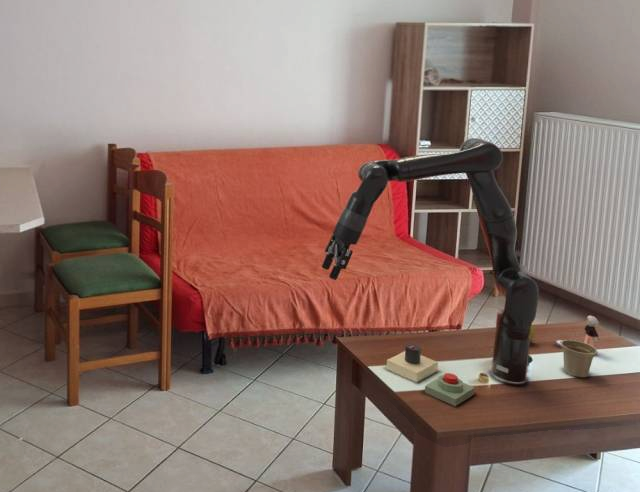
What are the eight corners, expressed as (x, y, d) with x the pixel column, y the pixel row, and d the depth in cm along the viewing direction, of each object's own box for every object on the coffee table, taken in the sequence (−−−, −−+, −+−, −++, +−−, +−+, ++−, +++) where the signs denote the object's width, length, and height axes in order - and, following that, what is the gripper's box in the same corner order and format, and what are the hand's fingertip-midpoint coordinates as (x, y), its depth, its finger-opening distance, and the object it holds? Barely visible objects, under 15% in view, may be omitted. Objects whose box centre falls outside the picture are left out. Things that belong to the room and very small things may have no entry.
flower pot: (596, 373, 213) (599, 346, 212) (591, 384, 206) (594, 356, 205) (561, 362, 219) (564, 337, 218) (555, 372, 212) (558, 346, 211)
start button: (447, 377, 201) (447, 371, 200) (459, 382, 198) (460, 376, 198) (441, 381, 198) (441, 375, 198) (453, 386, 196) (453, 380, 195)
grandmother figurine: (574, 347, 230) (578, 311, 229) (585, 347, 230) (589, 311, 229) (591, 358, 223) (595, 321, 221) (602, 358, 223) (607, 321, 221)
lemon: (535, 347, 230) (537, 324, 229) (517, 345, 231) (519, 322, 230) (529, 340, 235) (531, 317, 234) (512, 338, 236) (514, 316, 235)
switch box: (443, 381, 205) (445, 368, 205) (474, 394, 198) (475, 381, 198) (424, 392, 199) (425, 379, 198) (455, 406, 192) (456, 393, 191)
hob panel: (407, 358, 219) (407, 349, 219) (437, 371, 212) (438, 361, 211) (386, 369, 212) (386, 359, 212) (416, 382, 204) (417, 372, 204)
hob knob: (409, 356, 215) (410, 341, 214) (422, 361, 211) (424, 346, 211) (401, 359, 212) (403, 345, 211) (415, 365, 208) (416, 350, 208)
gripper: (369, 237, 198) (346, 286, 200) (354, 223, 212) (333, 269, 214) (346, 227, 198) (323, 277, 200) (332, 214, 212) (311, 260, 214)
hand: (328, 273), depth 207 cm, fingers open, 8 cm apart
